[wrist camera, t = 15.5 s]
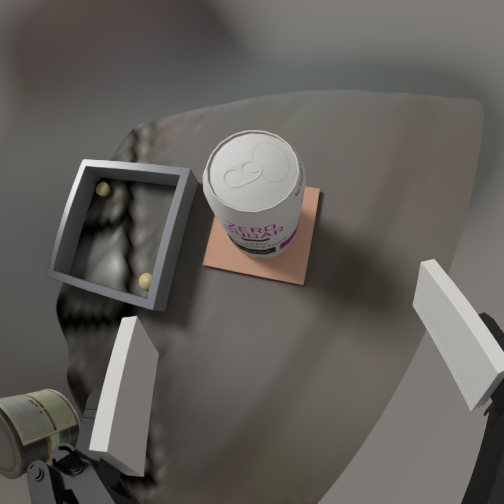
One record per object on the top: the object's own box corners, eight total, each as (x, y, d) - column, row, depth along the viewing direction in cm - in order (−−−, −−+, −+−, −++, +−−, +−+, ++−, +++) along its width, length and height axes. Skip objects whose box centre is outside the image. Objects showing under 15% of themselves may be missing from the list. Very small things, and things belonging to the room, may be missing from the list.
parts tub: (63, 280, 39) (46, 276, 35) (96, 170, 42) (83, 159, 38) (165, 311, 37) (152, 310, 33) (198, 182, 40) (190, 168, 36)
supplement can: (278, 183, 38) (276, 110, 24) (309, 242, 37) (327, 192, 22) (218, 211, 38) (184, 149, 24) (246, 271, 36) (223, 239, 22)
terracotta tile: (203, 265, 38) (202, 264, 37) (226, 175, 40) (225, 173, 39) (303, 285, 36) (303, 284, 36) (319, 190, 38) (319, 188, 38)
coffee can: (91, 453, 33) (31, 487, 20) (44, 446, 34) (-15, 469, 20) (74, 388, 36) (5, 405, 22) (28, 386, 36) (-36, 396, 22)
